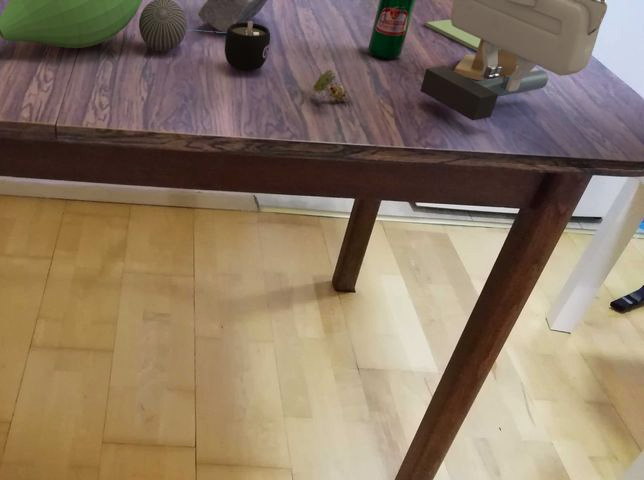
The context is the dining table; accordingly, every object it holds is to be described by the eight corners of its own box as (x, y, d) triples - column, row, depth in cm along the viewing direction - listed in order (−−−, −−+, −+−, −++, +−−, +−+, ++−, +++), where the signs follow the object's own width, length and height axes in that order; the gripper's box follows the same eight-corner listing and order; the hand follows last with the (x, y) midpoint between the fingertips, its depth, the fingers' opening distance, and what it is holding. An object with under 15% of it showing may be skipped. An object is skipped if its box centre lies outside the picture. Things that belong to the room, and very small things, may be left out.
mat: (557, 55, 112) (558, 51, 111) (502, 64, 107) (503, 60, 107) (477, 19, 123) (479, 15, 123) (425, 25, 119) (426, 22, 119)
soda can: (366, 58, 106) (386, -29, 98) (367, 47, 110) (387, -38, 102) (400, 62, 105) (423, -24, 97) (400, 51, 109) (422, -33, 101)
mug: (266, 79, 97) (274, 23, 92) (222, 75, 98) (227, 19, 93) (265, 48, 106) (272, -4, 101) (224, 45, 106) (229, -8, 101)
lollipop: (235, -32, 108) (214, 1, 114) (140, -8, 97) (122, 28, 103) (270, 18, 107) (247, 49, 113) (179, 48, 97) (158, 80, 103)
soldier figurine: (331, 77, 90) (353, 95, 92) (328, 73, 91) (349, 91, 93) (320, 91, 91) (342, 108, 93) (317, 87, 92) (338, 104, 94)
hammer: (510, 74, 99) (517, 53, 97) (565, 102, 92) (575, 79, 90) (419, 90, 93) (426, 68, 91) (472, 121, 87) (480, 97, 85)
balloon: (-19, 108, 105) (148, 19, 109) (-12, 100, 92) (178, 0, 96) (-74, 12, 99) (104, -77, 104) (-75, -11, 86) (130, -112, 91)
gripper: (632, -9, 77) (578, 112, 86) (497, -54, 90) (463, 54, 99) (592, -4, 75) (541, 119, 84) (460, -51, 88) (429, 60, 97)
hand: (498, 84), depth 92 cm, fingers closed on hammer, 2 cm apart
